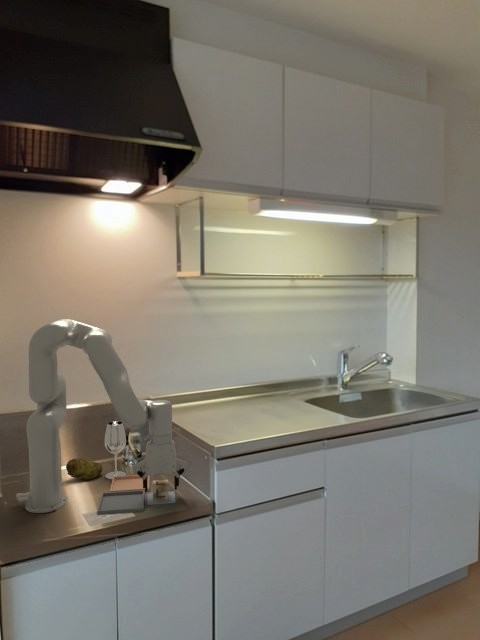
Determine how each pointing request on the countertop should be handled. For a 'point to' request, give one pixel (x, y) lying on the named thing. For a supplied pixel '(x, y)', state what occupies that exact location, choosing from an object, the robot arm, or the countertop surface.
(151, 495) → the mat
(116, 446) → the wineglass
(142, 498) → the charcoal tray
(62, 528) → the countertop surface
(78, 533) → the countertop surface
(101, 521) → the countertop surface
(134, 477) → the terracotta tray
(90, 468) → the potato
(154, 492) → the letter cube
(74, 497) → the countertop surface
